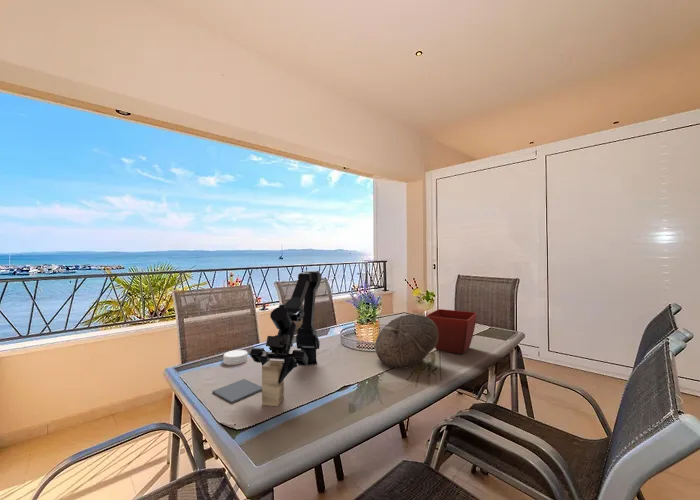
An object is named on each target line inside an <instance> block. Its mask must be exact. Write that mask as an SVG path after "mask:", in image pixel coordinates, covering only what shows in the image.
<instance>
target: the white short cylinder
mask: <svg viewBox="0 0 700 500" xmlns="http://www.w3.org/2000/svg"><path fill="white" fill-rule="evenodd" d="M248 355H249V354H248V351H247V350H244V349H234V350H230V351H227V352H225V353H224V354H223V355H222V356H223V362H222V363H223V364H224V365H228V366H234V365H235V366H236V365H241V364H243V363H246V362H247V361H248V358H249V356H248Z"/></svg>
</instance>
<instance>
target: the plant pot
mask: <svg viewBox="0 0 700 500" xmlns="http://www.w3.org/2000/svg"><path fill="white" fill-rule="evenodd" d="M477 315H478V313H477V312H471V311H463V310H453V309H445V308H443V309H442V308H441V309H440V308H439V309H436V310H434V311H432V312H431V313H429V314H427V315H426V317H428V318H430V319H431V320H433V322H434V323H435V324H436V326H437V329H438V335H439V338H438V343H437V345H436V346H435V348H434V349H435V350H436V351H441V352H446V353H447V352H448V353H452V354H458V355H463V354H465V353H466V352H467V351H468V349H469V348H470V347H471V343H472V340H473V335H474V332H475V327H476V322H477Z"/></svg>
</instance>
